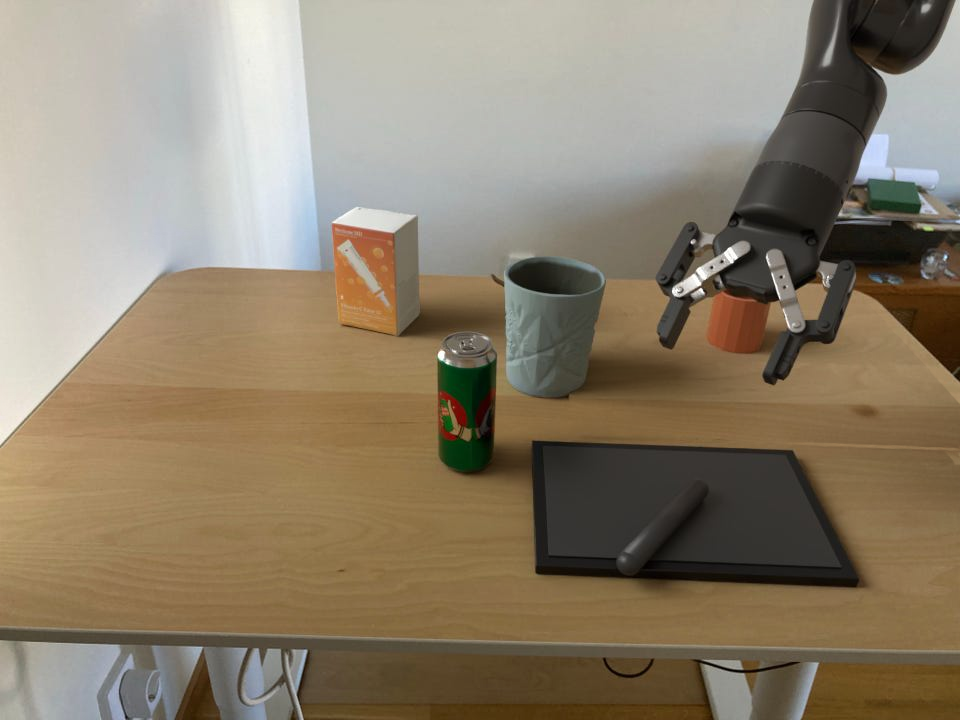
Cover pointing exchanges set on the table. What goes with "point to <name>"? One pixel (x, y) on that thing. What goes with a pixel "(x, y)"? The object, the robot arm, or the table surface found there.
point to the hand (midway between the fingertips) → (714, 362)
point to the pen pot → (737, 323)
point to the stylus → (661, 527)
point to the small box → (376, 269)
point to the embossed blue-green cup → (550, 323)
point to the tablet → (704, 533)
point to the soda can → (466, 401)
